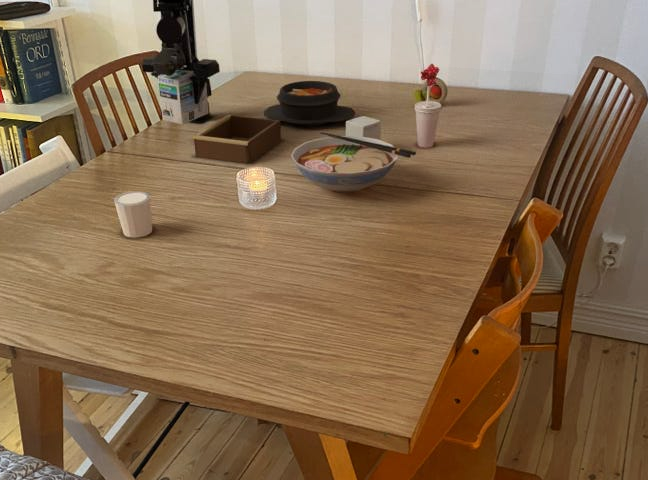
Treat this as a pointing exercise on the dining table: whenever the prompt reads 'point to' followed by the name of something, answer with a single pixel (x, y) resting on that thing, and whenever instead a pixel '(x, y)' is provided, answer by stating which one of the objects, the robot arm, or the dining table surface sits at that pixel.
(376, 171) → the ramen bowl
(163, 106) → the light bulb box
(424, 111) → the smoothie
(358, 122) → the product box
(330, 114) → the casserole
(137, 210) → the shot glass
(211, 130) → the wooden box
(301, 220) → the dining table surface
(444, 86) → the multicoloured rounded piece
